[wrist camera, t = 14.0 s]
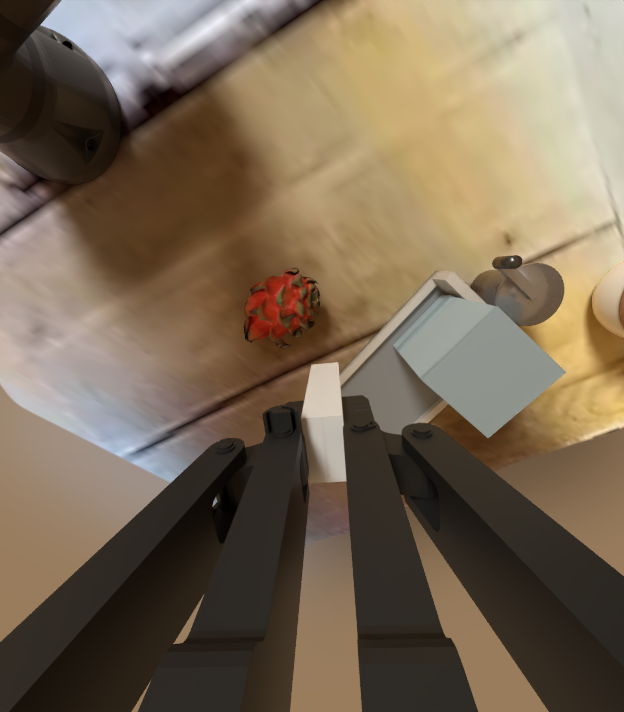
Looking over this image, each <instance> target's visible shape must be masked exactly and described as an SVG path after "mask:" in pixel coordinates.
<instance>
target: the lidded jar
mask: <svg viewBox="0 0 624 712" xmlns="http://www.w3.org/2000/svg"><path fill="white" fill-rule="evenodd" d="M592 309H593V312H594V315H595V317H596V319H597V320H598V322H599V323H600V324H601V325H602V326H603V327H604V328H605V329H607V330H608V331H610V332H611V333H613V334H615V335H617V336H619V337H622V338H624V261H622V262H621V263H619V264H617V265H616V266H614V267H613V268H611V269H610V270H609V271H608V272H607V273H606V274H605V275H604V276H603V277H602V278H601V279H600V281H599V282H598V283H597V285H596V287H595V288H594V291H593V294H592Z"/></svg>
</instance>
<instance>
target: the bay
mask: <svg viewBox="0 0 624 712" xmlns="http://www.w3.org/2000/svg"><path fill="white" fill-rule="evenodd" d="M442 294H443V295H451V296H453V297H456V298H461V299H465V300H470V301H474V302H479V303H484V304H486V303H485V302H484V301H483V300H482V299H481V298H480V297H479V296H478V295H477V294H476V293H475V292H474V291H473V290H472V289H471V288H470V287H469V286H468V285H467V284H466V283H464V282H463V281H462V280H461V279H460V278H459V277H458V276H457V275H456V274H455V273H454V272H449V271H435V272H434V274H433V275H432V276H431V277H430V278H429V279H428V280H427V281H426V282H425V283H424V284H423V285H422V286H421V287H420V288H419V290H418V291H417V292H416V293H415V294H414V295H413V296H412V297H411V298H410V299H409V300H408V301H407V302H406V303H405V304H404V305H403V307H402V308H401V309H400V310H399V311H398V312H397V313H396V314H395V315H394V316H393V317H392V318H391V319H390V320H389V321H388V323H387V324H386V325H385V326H384V327H383V328H382V329H381V330H380V331H379V332H378V333H377V334H376V335H375V336H374V337H373V338H372V340H371V341H370V342H369V343H368V344H367V345H366V346H365V347H364V348H363V349H362V350H361V351H360V352H359V353H358V354H357V356H356V357H355V358H354V359H353V360H352V361H351V362H350V363H349V364H348V365H347V366H346V367H345V368H344V369H343V370H342V371H341V373H340V374H339V376H340V386H341V397H345V396H357V395H363V396H365V397H366V398H368V400H369V403H370V406H371V410H372V413H373V416H374V420H375V422H377V423H378V425H379V426H380V430H382V431H384V432H387V433H392V434H400V435H402V434H401V432H402V429H403V428H404V427H405V426H407V425H410V424H413V423H428V422H429V421H431V420H432V419H433V418H434V417H435V416H436V415H437V414H438V413H439V412H440V411H441V410H443V409H444V408H445V407H446V406H447V405H448V403H447V402H446V401H445V400H444V399H443V398H441V397H440V396H439V395H438V394H437V393H436V392H435V391H433V390H432V389H431V388H430V387H429V386H428V385H427V384H425V383H424V382H423V381H422V380H421V379H420V378H419V376H418V375H417V374H416V373H415V372H414V370H413V369H412V368H411V367H410V365H409V364H408V363H407V362H406V361H405V359H404V358H403V357H402V356H401V355H400V353H399V352H398V351H397V350H396V349H395V347H394V346H393V345H394V344H395V343H396V342H397V340H398V339H399V338H400V337H401V336H402V335H403V334H404V333H405V332H406V331H407V330H408V329H409V328H410V327H411V326H412V325H413V324H414V323H415V322H416V321H417V320H418V319H419V318H420V317H421V316H422V315H423V314H424V313H425V312H426V310H427V309H428V308H429V307H430V306H431V305H432V304H433V303H434V302H435V301H436V300H437V299H438V298H439V297H440V296H441V295H442Z"/></svg>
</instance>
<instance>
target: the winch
mask: <svg viewBox="0 0 624 712" xmlns="http://www.w3.org/2000/svg"><path fill="white" fill-rule="evenodd" d="M521 264H522V258H521V257H520V256H517V255H515V256H502V257H496V258H495V259H494V260H493V262H492V265H493V267H494V268H495V269H497V270H490V271H486V272H483V273H481V274H480V275H479V276H477V277H476V279H475V280H474V281H473V283H472V285H471V289H472V290H473V291H474V292H475V293H476V294H477V295H478V296H479V297H480V298H481V299H482V300H483V301H484V302H485V303H486V304H488V305H493V306H497V307H499V308H500V309H501V310H502V311H503V312H504V313H505V314H506V315H507V316H508V317H509V318H510V319H511V320H512V321H513V322H514V323H515V324H516V325H520V326H533V325H537V324H539V323H542V322H544V321H545V320H547V319H548V318H550V317H551V316H552V315H553V314H554V313H555V312H556V311H557V309H558V308H559V306H560V304H561V302H562V300H563V296H564V283H563V280H562V277H561V276H560V274H559V273H558V272H557V271H556V270H555V269H554V268H553V267H551V266H549V265H546V264H540V263H532V264H524V265H521Z"/></svg>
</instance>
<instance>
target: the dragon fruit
mask: <svg viewBox="0 0 624 712" xmlns="http://www.w3.org/2000/svg"><path fill="white" fill-rule="evenodd" d="M298 273H299V270H298V268H291V269H289V270H286V271H284V272H283V273H282V275H281V276H280V277H276V276H272V277H268V278H266V279H264V280H263V281H262V282H260V283H257V284H255V285H253V286H252V288H251V290H250V291H251V294H250V296H249V298H248V300H247V302H246V305H245V316H246V320H245V324H244V333H245V339H246V340H247V341H250V342H251V341H252V342H253V341H254V340H261V339H263V338H264V337H266V336H269V338H270V339H271V341H272V342H275V343H276V345H277V346H278V345H280V343H281V344H283V346H281V347H280V348H287V347H289V346H291V345H289V344H287V343H285V342H284V341H283V340H282V337H283V336H284V334H285V333H287V332H289V333H291V335H292V336H293V337H296V338H299V337H301V336H302V331H301V327H303V328H305V329H306V330H308V329H309V328H313V326H314V325H315V321H310V320H309V319H315V318H317V317H318V313H317V311H316V310H317V309H318V308H319V306H320V302H319V301H318V300H319V296H320V294H319V290H318V288H317V287H316V286H315V285H314V284H315V282H316V281H315V280H314V279H312V278H308V277H302V275H296V274H298ZM316 283H317V282H316ZM317 284H318V283H317ZM299 326H300V327H299ZM298 327H299V328H298ZM248 332H249V338H248ZM278 340H279V341H278ZM252 342H251V343H252Z"/></svg>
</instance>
